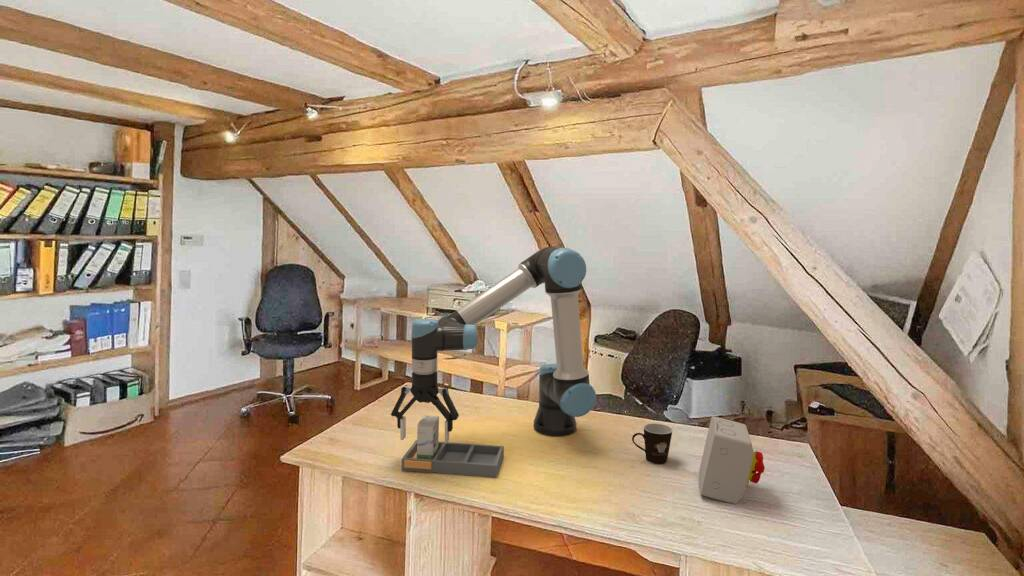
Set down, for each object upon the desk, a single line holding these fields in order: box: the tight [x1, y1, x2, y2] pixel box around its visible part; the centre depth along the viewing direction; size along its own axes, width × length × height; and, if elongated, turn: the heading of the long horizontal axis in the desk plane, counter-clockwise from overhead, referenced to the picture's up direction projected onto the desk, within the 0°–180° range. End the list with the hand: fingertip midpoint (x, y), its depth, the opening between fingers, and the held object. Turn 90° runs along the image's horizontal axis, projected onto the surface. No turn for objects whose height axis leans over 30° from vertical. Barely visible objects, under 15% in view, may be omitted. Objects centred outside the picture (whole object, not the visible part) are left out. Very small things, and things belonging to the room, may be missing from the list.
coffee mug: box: [631, 422, 674, 465], centre depth 172 cm, size 12×9×10 cm
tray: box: [401, 439, 505, 478], centre depth 167 cm, size 28×15×4 cm, turn 83°
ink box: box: [416, 415, 440, 460], centre depth 167 cm, size 9×5×12 cm, turn 176°
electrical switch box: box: [698, 415, 766, 505], centre depth 151 cm, size 15×15×20 cm
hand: (425, 440), depth 167 cm, fingers open, 13 cm apart
